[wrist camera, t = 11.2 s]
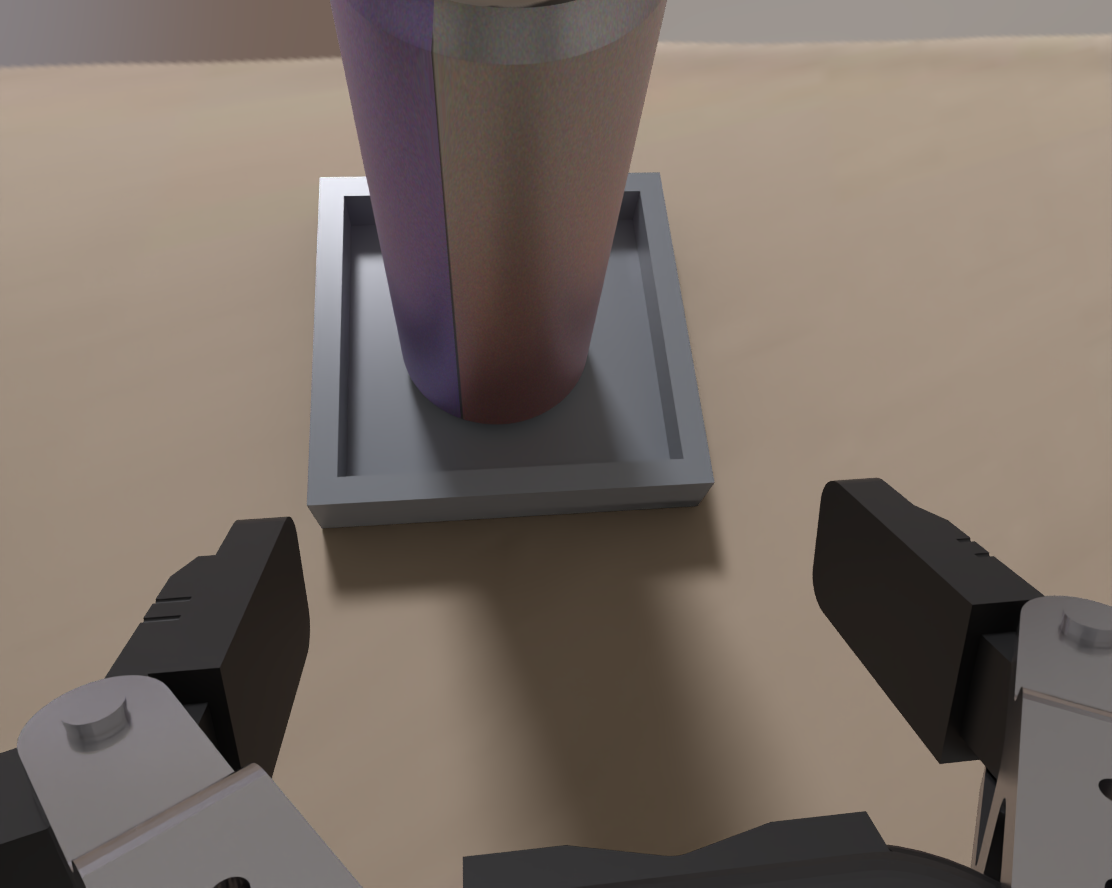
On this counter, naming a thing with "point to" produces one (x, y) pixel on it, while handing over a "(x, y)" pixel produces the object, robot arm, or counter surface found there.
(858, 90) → the counter surface
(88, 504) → the counter surface
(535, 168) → the beverage can
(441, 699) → the counter surface
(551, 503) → the tray
